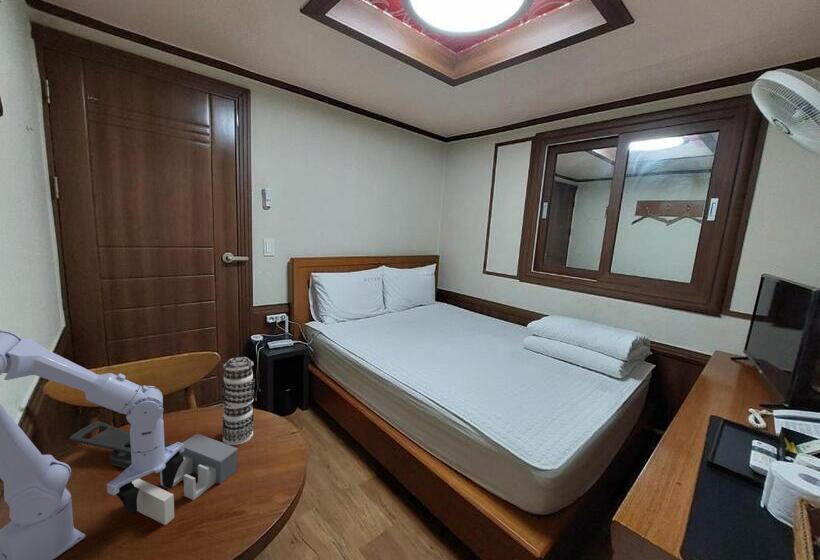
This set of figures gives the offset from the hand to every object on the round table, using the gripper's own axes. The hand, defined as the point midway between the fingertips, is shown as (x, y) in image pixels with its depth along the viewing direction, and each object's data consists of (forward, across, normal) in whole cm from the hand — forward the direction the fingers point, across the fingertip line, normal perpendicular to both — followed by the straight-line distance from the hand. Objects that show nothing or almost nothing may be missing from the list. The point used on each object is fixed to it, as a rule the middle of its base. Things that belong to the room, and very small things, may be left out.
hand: (150, 498), depth 73 cm
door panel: (+3, 0, 0) cm, 3 cm away
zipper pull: (+3, +9, +24) cm, 25 cm away
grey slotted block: (+3, +11, 0) cm, 12 cm away
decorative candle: (+4, +28, +4) cm, 28 cm away
